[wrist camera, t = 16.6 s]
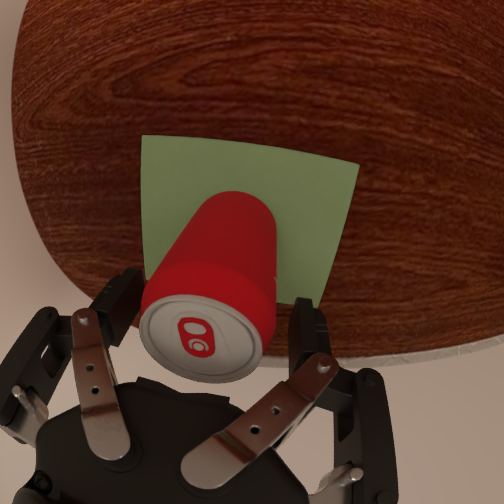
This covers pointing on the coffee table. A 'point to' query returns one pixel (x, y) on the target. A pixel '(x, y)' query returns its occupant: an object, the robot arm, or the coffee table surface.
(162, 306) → the beverage can
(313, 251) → the pad
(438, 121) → the coffee table surface
